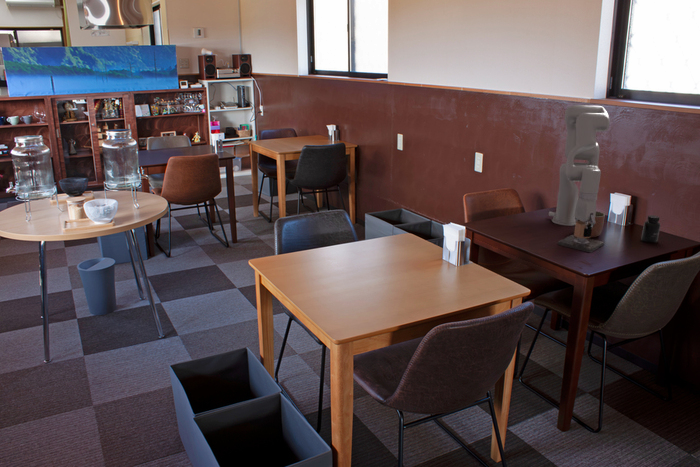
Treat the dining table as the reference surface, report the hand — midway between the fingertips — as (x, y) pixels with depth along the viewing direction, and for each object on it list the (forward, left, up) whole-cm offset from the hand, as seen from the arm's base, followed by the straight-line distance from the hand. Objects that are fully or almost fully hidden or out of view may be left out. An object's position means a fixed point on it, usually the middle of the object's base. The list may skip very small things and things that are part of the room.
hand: (582, 233), depth 248 cm
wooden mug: (0, 0, -1) cm, 1 cm away
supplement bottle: (+20, +30, -6) cm, 36 cm away
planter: (-4, +18, -6) cm, 19 cm away
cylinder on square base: (0, 0, -5) cm, 5 cm away
